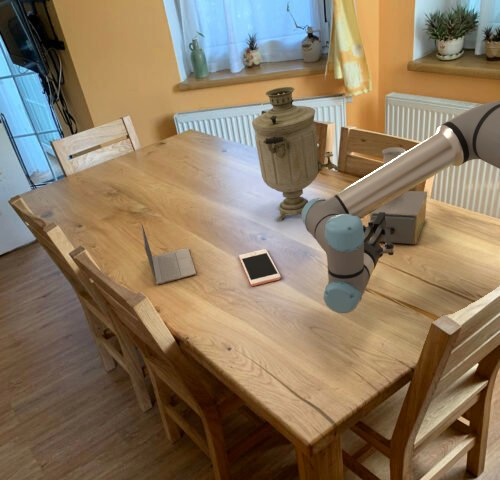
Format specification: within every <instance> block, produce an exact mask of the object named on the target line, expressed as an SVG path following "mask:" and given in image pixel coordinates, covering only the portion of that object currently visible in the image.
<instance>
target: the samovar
mask: <svg viewBox="0 0 500 480" xmlns="http://www.w3.org/2000/svg"><path fill="white" fill-rule="evenodd" d="M295 89H296V88H295V87H292V86H282V87H277V88H274V89H270V90H267V91H266V92H265V96H267V97H268V98H269V103H270V105H271V106H272V108H270V109H269V110H268V111H265V112H263V113H261V114H260V115H258V116H256V117H255V118H254V119H253V120H252V121H251V125H252V127H253V130H254V132H255V137H254V138H255V146H256V151H257V156H258V163H259V167H260V174H261V178H262V180H263V182H264V184H265V185H267V187H269V188H271V189H273V190H275V191H277V192H280V193H282V197H283V198H285V199H283V200H282V201H281V202H280V204H279V207H278V211H279V215H278V216H277V218H276V219H277V221H280V222H281V221H283V219H284V218H285V217H286V216H297V215H302V210H303V208H304V206H305V205H306V204H307V203H308V202H309V200H308V199H307V198H305V197H303V194H304V190H303V189H306V188H307V187H309V186H310V185H311V184H312V183H313V182H314V181H315V180H316V179H317V177H318V174H319V173H320V172H322V171H323V169H324V168H325V169H328V170H329V171H330V170H332V169H334V170H335V171H339V170H340V168H339V166H337V165H336V164H335V163H333V162H332V161H331V157H334V153H333V151H326V152H323V153H322V155H323V158H327V163H323V164H322V161H321V160H320V156H319V146H318V145H319V144H318V136H317V135H318V134H317V125H315V123H314V121H315V116H316V115H315V114H316V109H315V108H313V107H311V106H306V105H295V104H293V103H294V101H295V100H294V99H293V93H294V91H295Z"/></svg>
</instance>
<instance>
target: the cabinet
mask: <svg viewBox="0 0 500 480" xmlns="http://www.w3.org/2000/svg"><path fill="white" fill-rule="evenodd" d="M427 199H428V191H423V190H422V191H421V190H409V191H407V192H405V193H404V194H402V195H400V196H398V197H397V198H395V199H393V200H392V201H390V202H388V203H387V204H385V205H383V206H382V207H380V208H378V209H377V210H375V211H373V212H371V213H370V214H369V222H371V216H372V215H378V214H379V212H385V215H388V216H407V217H415V232H414V243H413V244H412V245H414V246H415V245H417V244H418V240H419V238H420V235H421V233H422V229H423V227H424V224H425V222H426V212H427V201H428V200H427ZM370 240H371V239H370ZM380 243H384V242H383V241H380ZM392 243H393V244H398V243H397V242H392ZM400 244H403V245H411V244H410V243H400Z"/></svg>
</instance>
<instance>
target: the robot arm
mask: <svg viewBox="0 0 500 480" xmlns="http://www.w3.org/2000/svg"><path fill="white" fill-rule="evenodd" d="M473 160H481V161H483V162H485V163H487V164H489V165H491V166H493V167H495V168H497V169H499V170H500V100H494V101H490V102H487V103H483V104H480V105H478V106H475V107H472V108H470V109H468V110H465V111H463V112H462V113H459V114H458V115H456V116H453V117H452V118H450V119H449V120H447V121H445V122H443V123H442V124H441V125H438V127H437V128H436V132H435V133H434V134H433V135H432V136H430V137H428V138H426V139H425V140H423V141H421V142H420V143H418V144H416V145H415V146H414V147H412V148H410V149H409V150H406V151H405V153H404V154H402V155H400V156H399V157H397V158H395V159H394V160H392V161H390V162H389V163H387V164H385V165H384V164H383V165H382V166H380V167H379V168H377V169H376V170H374V171H372V172H371V173H369V174H367V175H365V176H364V177H362V178H360V179H359V180H357V181H356V182H354V183H352V184H351V185H349V186H347V187H346V188H344V189H343V190H340V191H339V192H338V193H336V194H334V195H333V196H331V197H329V198H327V199H325V198H322V197H315V198H312V199H310V200H308V203H307V204H306V205H305V206H304V208H303V210H302V214H301V221H302V223H303V225H304V227H305V229H306V231H307V232H308V233H309V234H310V235H311V236H312V238H314V239H315V241H316V242H317V243H318V245H319V246H320V247H321V249H322V250H323V251H324V252H325V254H326V262H327V277H328V280H327V281H328V283H327V285H326V286H325V288H324V292H323V301H324V304H325V305H326V307H328V309H329V310H331V311H332V312H334V313H336V314H338V313H339V314H349V313H352V312H353V311H354V310H356V308H357V306H358V305H359V303H360V302H361V301H362V299H363V295H364V293H365V291H366V289H367V286H368V284H369V282H370V279H371V277H372V275H373V273H374V271H375V269H376V267H377V265H378V262H379V260H380V259H381V258H382V257H383V256H384V254H388V255H389V256H393V255H394V251H395V249H394V248H395V243H392V242H391V234H390V227H389V226H388V227H386V221H385V212H379V214H378V216H377V218H376V220H372V221H371V222H370V221H368V223H367V226H366V225H365V224H364V223H363V220H362V219H363V218H365V217H367V216H368V215H370V213H371V212H373V211H375V210H377V209H378V208H380V207H382V206H383V205H385V204H387V203H388V202H390V201H392V200H393V199H395V198H397V197H398V196H400V195H402V194H404V193H405V192H407V191H411V190H412V189H414V188H415V187H417V186H419V185H420V184H422V183H424V182H426V181H427V180H429V179H431V178H432V177H434V176H436V175H437V174H439V173H441V172H443V171H444V170H446V169H448V168H449V167H451V166H453V167H460V166H461V165H463V164H465V163H467V162H469V161H473ZM373 233H374V236H373V237H372V235H373ZM383 235H385V242H384V245H383V247H382V246H381V244H380V243H381V242H380V241H381V239H382V237H383ZM371 237H372V238H371ZM370 239H371V240H370Z"/></svg>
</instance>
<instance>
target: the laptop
mask: <svg viewBox="0 0 500 480" xmlns="http://www.w3.org/2000/svg"><path fill="white" fill-rule="evenodd" d="M140 226H141V233H142V240H143V246H144V247H143V248H144V251H145V254H146V257H147V260H148V264H149V265H150V266H149V267H150V270H151V272H152V276H153V279H154V282H155V284H156V285H161V284H165V283H169V282H173V281H176V280H180V279H184V278H186V277H190V276H194V275H196V274H197V273H196V269H195V266H194V262H193V259H192V256H191V253H190V252H191V251H190V249H189V247H184V248H181V249H180V248H179V249H176V250H172V251H168V252H164V253H160V254H157V255H152V251H151V247H150V245H149V242H148V238H147V234H146V232H145V229H144V225H143V223H142V222H140Z"/></svg>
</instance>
